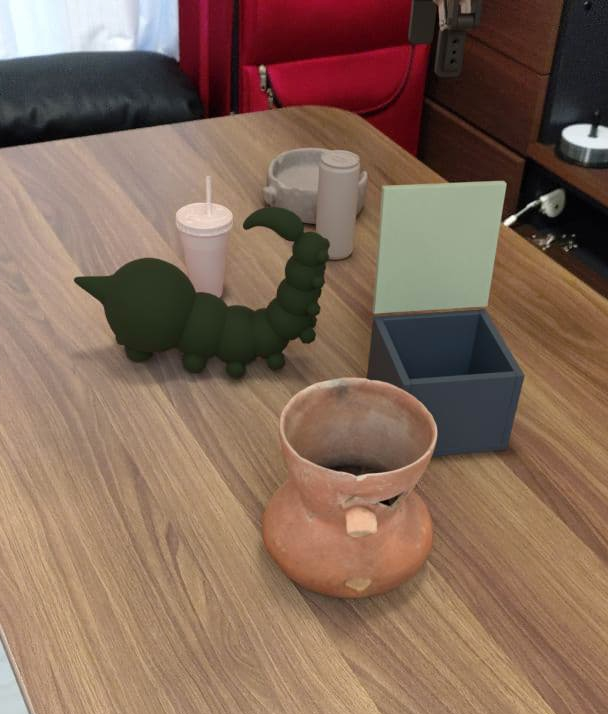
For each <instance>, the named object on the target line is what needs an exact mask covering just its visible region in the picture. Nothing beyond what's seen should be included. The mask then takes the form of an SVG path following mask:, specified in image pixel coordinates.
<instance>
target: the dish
mask: <svg viewBox="0 0 608 714" xmlns="http://www.w3.org/2000/svg"><path fill="white" fill-rule="evenodd" d="M328 151H332V149H327V148H320V147H301V148H295V149H291V150H286V151H283V152H281V153H279V154H278V155H277V156H276V157H273V159H271V161H270V162H269V165H268V169H267V173H266V182H265V183H266V184H265V185H266V186H263V187H262V188H261V197H262V199H263V200H264V202H265V203H266V204H267V205H269V207H280V208H285V209H287V210H289V211H292V212H294V213H295V214H296V215H297V216H299V217H300V219H301V221H302V223H303V224H305V223H306V224H311V225H316V218H317V199H318V180H319V163H320V160H321V156H322V154H323V153H325V152H328ZM368 175H369V174H368V172H367V171H366V170H363V171H362V172H361V174H359V186H358V198H357V210H356V216H357V215H358V214H359V213H360V212H361V210H362V209H363V206H364V203H365V200H366V196H367V191H368V185H369V184H368V183H369V176H368Z"/></svg>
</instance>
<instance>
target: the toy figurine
mask: <svg viewBox="0 0 608 714" xmlns="http://www.w3.org/2000/svg"><path fill="white" fill-rule="evenodd" d="M255 227H257V228H258V227H263V228H267V229H269V230H271V231H273V232H275V233H276V235H278V236H279V237H280V238H282V239H283V240H285V241H288V242H293V244H292V246H291V253H292V255H291V256H290V257H289V258H288V259H287V261H286V263H285V267H284V278H283V279H282V280H281V281H280V282H279V284H278V287H277V289H276V295H275V297H274V298H273V299H272V300H271V301H269V303H268V305H267V306H266V307H261V308H257V309H256V310H254V309H252V308H250V307H248V306H245V305H241V304H233V305H227V303H226V302H225V301H224V300H223V299H222V298H221V297H220V298H219V297H217V296H215V295H213V294H210V293H205V292H196V291H195V288H194V286H193V284H192V283H191V281H190V279H189V278H188V275H187V273H185V272H184V271H183V270H182V269H181V268H179V267H178V266H176V265H175V264H173V263H171V262H169V261H166V260H163V259H161V258H157V257H142V258H136V259H133V260H131V261H129V262H127V263H125V264H123V265H122V266H121V267H119V268H118V269H117V270H115V272H114V273H112V274H110V275H87V276H83V275H82V276H75V277H74V278H73V283H75V284H76V285H77V286H78V287H79V288H81V289H82V290H83V291H85V292H86V293H88V294H89V295H90V296H92V297H93V298H94V299H95V300H97V301H98V302H99V303H100V304H101V305H102V306H103V311H104V316H105V319H106V321H107V324H108V326H109V328H110V330H111V332H112V333H113V334H114V339H115V342H116V343H117V344H118V345H120V346H122V347H123V348H124V353H125V356H126V357H127V358H128V359H129V360H130V361H132V362H134V363H144V362H146V361H147V360H150V359H152V357H153V355H154V353H156V354H157V353H163V352H167V351H170V350H172V349H174V348H176V349H177V350H178V351H179V352H180V353H181V354H182V355H181V364H182V367H183V369H184V370H186V371H187V372H190V374H199V373H201V372H202V371H203V370H204V369H205V368H206V367H207V363H208V361H207V360H208V359H213V358H215V357H216V358H217V359H219V360H220V361H221V362H222V363H226V364H227V365H226V368H225V371H226V373H227V374H228V376H229V377H230V378H233V379H240V378H242V377H243V376H245V373H246V370H247V364H250V363H253V362H254V361H255V360H257V359H258V358H261V359H265V360H266V361H265V362H266V365H267V368H268V369H270V370H272V371H274V372H276V371H281V370H283V368H284V367H285V365H286V358H285V354H284V353H283V351H284V350H285V349H286V348H287V347H288V345H289V342H290V341H295V340H297V339H298V338H299V340H300V341H301V343H302V344H307V345H310V344H312V343H313V342H315V341H316V338H317V333H316V331H315V328H316V325H317V323H318V318H317V316H318V315H320V314H321V310H322V308H321V305H320V303H319V302H318V301H319V299H320V298H321V296H322V293H323V292H322V291H323V289H322V288H323V287H324V285H325V284H326V280H325V273H326V270H327V265H326V263H328V261H329V259H328V258H329V254H328V249H329V247H330V242H329V241H328V239H326V238H323V237H322V236H321V235H320V234H318V233H316V231H305V228H304V222H302V221H301V219H300V217H299V216H297V215H296V214H295V213H294V212H292V211H289V210H287V209H285V208H280V207H271V206H264V207H261V208H259V209H257V210H255V211H253V212H251V214H249V215H248V216H247V217H246V218H245V219H244V221H243V222H242V228H243V229H244V230H245V231H248V230H251V229H253V228H255Z"/></svg>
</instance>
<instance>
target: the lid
mask: <svg viewBox="0 0 608 714" xmlns="http://www.w3.org/2000/svg"><path fill="white" fill-rule="evenodd" d="M506 190H507V183H506V181H505V180H491V181H490V180H488V181H466V182H443V183H417V184H415V183H414V184H396V185H395V184H394V185H382V186H381V198H380V209H379V222H378V236H377V247H376V249H377V250H376V260H375V261H376V262H375V274H374V275H375V276H374V286H373V298H372V299H373V300H372V311H373V313H374V315H375V314H376V315H377V314H390V313H391V314H392V313H406V312H407V313H408V312H422V311H423V312H424V311H437V310H439V311H440V310H451V309H452V310H453V309H469V308H470V309H471V308H483V307H488V304H489V298H490V291H491V285H492V280H493V273H494V266H495V260H496V254H497V249H498V242H499V241H498V240H499V234H500V228H501V222H502V215H503V209H504V204H505V203H504V202H505V196H506Z"/></svg>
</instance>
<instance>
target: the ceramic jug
mask: <svg viewBox="0 0 608 714" xmlns="http://www.w3.org/2000/svg"><path fill="white" fill-rule="evenodd" d="M278 433H279V434H278V435H279V441H280V447H281V451H282V455H283V458H284V463H285V465H286V468H287V471H288V474H289V476H290V478H288V479H287V480H285V482H283V483H281V485H280V486H279V487H278V488H277V489H276V490H275V491H274V493H273V494H272V495H271V497H270V499H269V500H268V502H267V504H266V506H265V509H264V512H263V515H262V520H261V521H262V522H261V533H262V539H263V543H264V546H265V549H266V550H267V553H268V554H269V557H270V558H271V559H272V560H273V562H274V563H275V564H276V565H277V567H279V569H280V570H281V571H282V573H283V574H284V575H285V576H286V577H287V578H289V579H290V580H291V581H293V582H294V583H296V584H298V585H299V586H301V587H303V588H305V589H307V590H309V591H312V592H315V593H317V594H320V595H324V596H328V597H333V598H338V599H339V598H340V599H365V598H372V597H375V596H380V595H384V594H385V593H389V592H391V591H393V590H395V589H397V588H400V586H403V585H404V584H406V583H408V582H409V581H410V580H411V579H412V578H413V577H414V576H415V575H416V574H417V573H419V571H420V570H421V568H423V567H424V565H425V563H426V561H427V560H428V558H429V556H430V554H431V551H432V549H433V545H434V540H435V539H434V537H435V531H434V524H433V519H432V516H431V513H430V511H429V508H428V507H427V505H426V503H425V501H424V500H423V499H422V497H421V496H420V495H419V494H418V493H417V492H416V491H415V490H414V488H415V487H416V486H417V484H418V482H419V481H420V480H421V478H422V476H423V474H424V473H425V471H426V469H427V467H428V465H429V463H430V462H431V459H432V457H433V456H432V454H433V451H434V448H435V445H436V441H437V426H436V423H435V421H434V418H433V416H432V415H431V413H430V412H429V411H428V410H427V409H426V407H425V406H424V405H423V404H422V403H421V402H420V401H418V400H417V399H416V398H415V397H413V396H412V395H411V394H409V393H407V392H406V391H404V390H402V389H400V388H398V387H396V386H394V385H392V384H389V383H386V382H382V381H377V380H368V379H367V377H366V378H365V377H353V376H352V377H350V376H349V377H338V378H334V379H328V380H324V381H319V382H315V383H313V384H311V385H308V386H306V387H305V388H303V389H301V390H300V391H299V392H297V393H295V394H294V395H293V396H292V398H290V399H289V400H288V402H287V403H286V404H285V406H284V407H283V409H282V411H281V414H280V418H279V423H278Z"/></svg>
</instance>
